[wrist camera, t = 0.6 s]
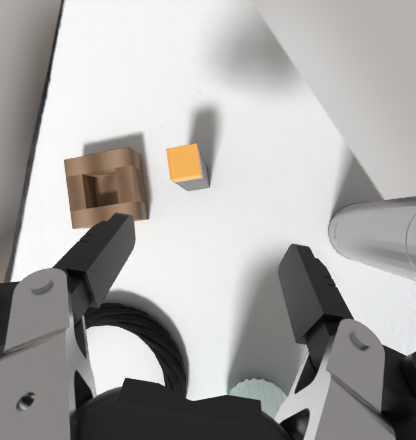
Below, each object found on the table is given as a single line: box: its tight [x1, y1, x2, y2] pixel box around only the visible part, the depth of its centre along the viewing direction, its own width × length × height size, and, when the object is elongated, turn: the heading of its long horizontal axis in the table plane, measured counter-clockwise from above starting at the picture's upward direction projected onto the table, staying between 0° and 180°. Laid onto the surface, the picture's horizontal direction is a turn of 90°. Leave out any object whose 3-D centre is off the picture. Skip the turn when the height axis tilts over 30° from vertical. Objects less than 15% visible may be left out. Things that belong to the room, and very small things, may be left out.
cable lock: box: [84, 303, 186, 398], centre depth 35 cm, size 28×4×30 cm
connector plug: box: [166, 143, 210, 191], centre depth 30 cm, size 4×4×10 cm
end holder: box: [64, 147, 149, 229], centre depth 34 cm, size 12×12×4 cm
